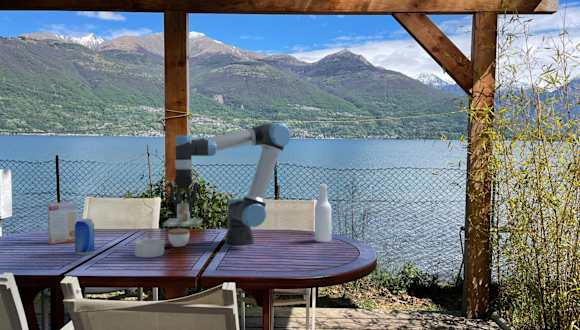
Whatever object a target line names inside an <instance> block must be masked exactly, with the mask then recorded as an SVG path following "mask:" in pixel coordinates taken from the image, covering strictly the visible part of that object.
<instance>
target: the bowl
mask: <svg viewBox="0 0 580 330" xmlns="http://www.w3.org/2000/svg"><path fill="white" fill-rule="evenodd" d="M164 254H165V240H164V239H161V238H160V239H159V238H144V239H139V240H136V241H134V256H135V257H137V258H154V257H155V258H156V257H160V256H161V257H162V256H163V255H164Z"/></svg>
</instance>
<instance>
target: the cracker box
mask: <svg viewBox="0 0 580 330" xmlns="http://www.w3.org/2000/svg"><path fill="white" fill-rule="evenodd" d="M46 205H47V206H46V207H47V227H48V228H47V230H48V244H49V245H60V244H61V245H62V244H69V243H75V224H76V222H77V220H79V212H78V211H79V210H78V209H79V207H78V202H77V201H68V202H67V201H66V202H52V203H47V204H46Z"/></svg>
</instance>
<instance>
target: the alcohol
mask: <svg viewBox="0 0 580 330" xmlns="http://www.w3.org/2000/svg"><path fill="white" fill-rule="evenodd" d="M327 188H328V184H327V183H326V184H325V183H324V184H323V183H322V184H321V183H320V184H319V191H318V192H319V194H318V201H317V203H316V204H315V206H314V241H316V242H317V243H330V242H331V241H332V205H331V204H330V202H329V201H328V200H329V199H328V189H327Z"/></svg>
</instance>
